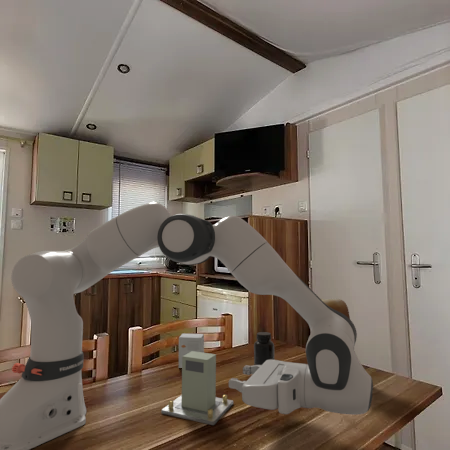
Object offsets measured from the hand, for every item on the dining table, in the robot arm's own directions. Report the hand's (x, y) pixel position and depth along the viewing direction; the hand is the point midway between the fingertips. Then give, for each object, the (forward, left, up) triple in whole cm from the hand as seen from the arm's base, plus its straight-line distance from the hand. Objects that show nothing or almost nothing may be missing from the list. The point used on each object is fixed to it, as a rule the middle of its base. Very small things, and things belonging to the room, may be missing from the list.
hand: (237, 375), depth 80 cm
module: (0, +10, -8) cm, 13 cm away
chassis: (0, +10, -9) cm, 14 cm away
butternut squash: (+34, -19, -9) cm, 40 cm away
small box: (+27, +27, -9) cm, 39 cm away
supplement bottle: (+34, +3, -9) cm, 35 cm away
